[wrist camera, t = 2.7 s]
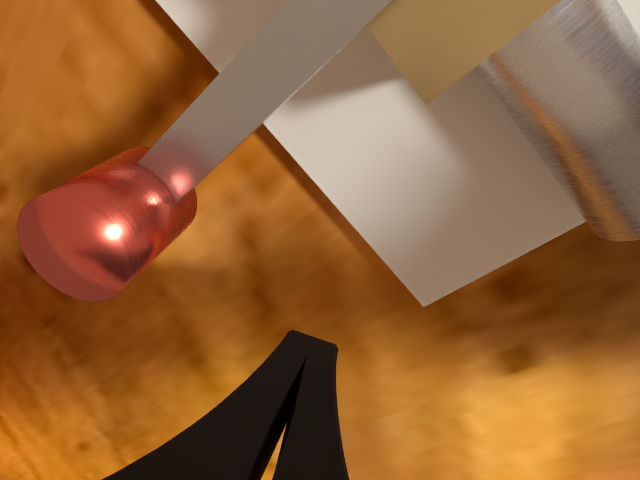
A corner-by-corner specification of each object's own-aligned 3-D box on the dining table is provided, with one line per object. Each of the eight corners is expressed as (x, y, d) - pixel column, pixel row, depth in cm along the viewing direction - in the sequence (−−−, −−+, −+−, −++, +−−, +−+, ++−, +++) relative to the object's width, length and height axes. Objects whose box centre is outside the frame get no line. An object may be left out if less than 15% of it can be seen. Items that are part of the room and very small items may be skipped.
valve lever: (486, -265, 7) (512, -420, 4) (575, -115, 7) (648, -169, 5) (92, 184, 12) (-2, 239, 9) (160, 250, 13) (88, 318, 10)
